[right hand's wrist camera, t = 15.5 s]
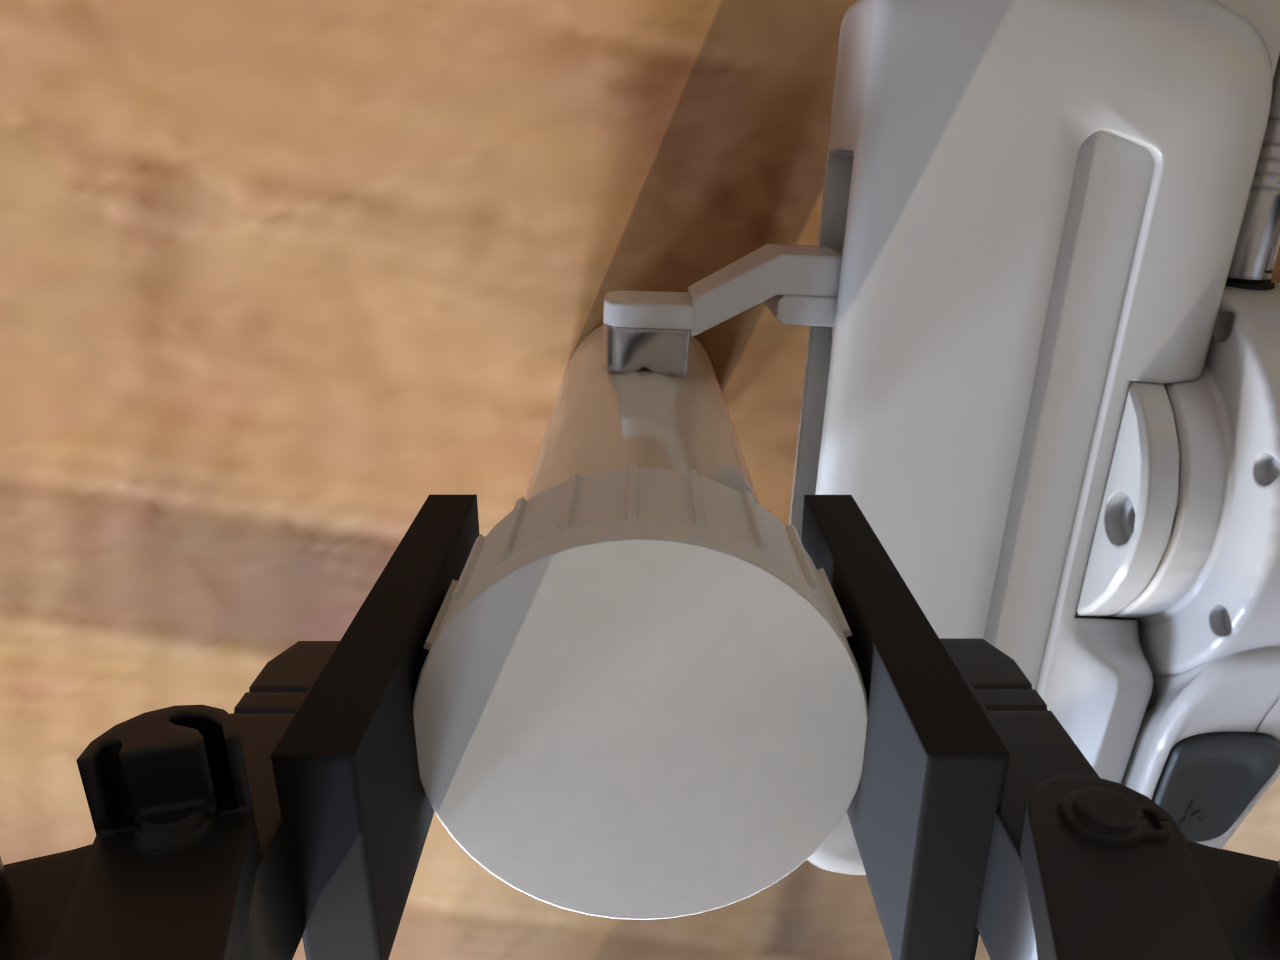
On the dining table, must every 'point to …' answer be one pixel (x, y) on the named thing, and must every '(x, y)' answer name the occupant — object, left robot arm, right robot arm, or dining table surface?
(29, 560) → the dining table surface
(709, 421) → the jar
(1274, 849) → the dining table surface
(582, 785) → the lid
